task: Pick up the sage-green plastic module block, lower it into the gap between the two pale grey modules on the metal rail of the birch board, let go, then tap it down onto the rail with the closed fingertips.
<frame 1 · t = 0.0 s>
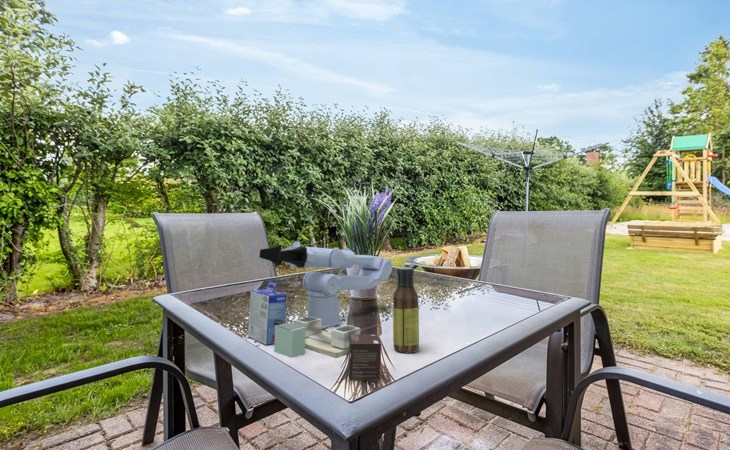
hand: (269, 254, 98), 22 cm above the table, tool horizontal, fingers open, 7 cm apart
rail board: (325, 344, 95), on the table
ink cartridge box: (266, 340, 97), on the table
module block: (289, 352, 88), on the table
box: (363, 375, 76), on the table
sauce bottle: (405, 350, 92), on the table
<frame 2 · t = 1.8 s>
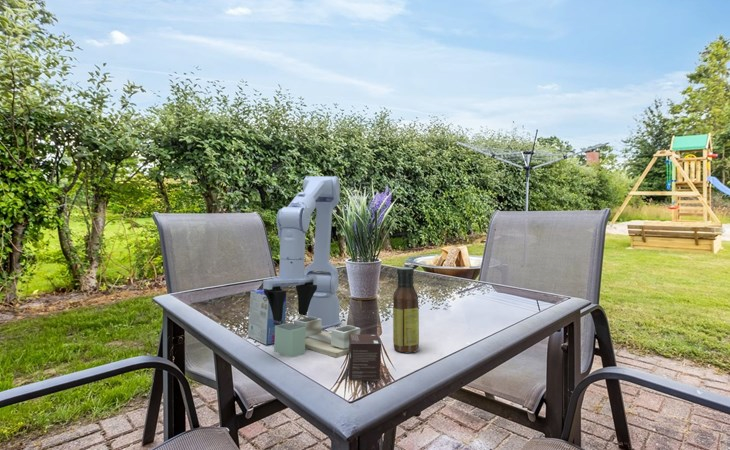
hand: (290, 317, 88), 8 cm above the table, tool pointing down, fingers open, 7 cm apart
nothing on the table moved.
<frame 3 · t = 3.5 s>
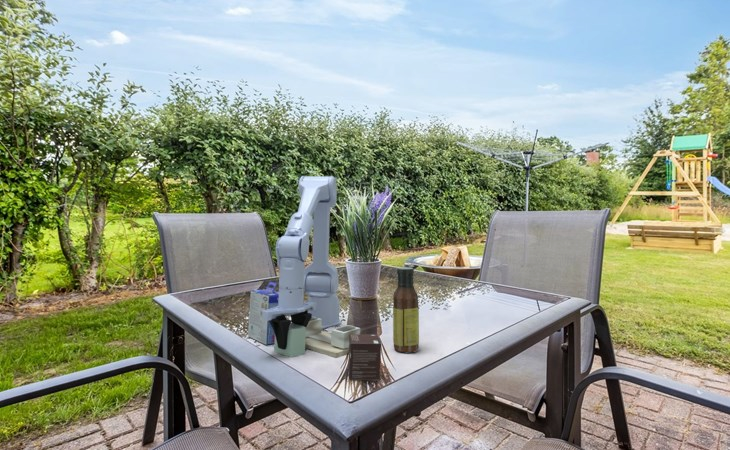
hand: (289, 346, 88), 1 cm above the table, tool pointing down, fingers closed on module block, 4 cm apart
module block: (289, 352, 88), on the table, touching gripper
everything else where it was.
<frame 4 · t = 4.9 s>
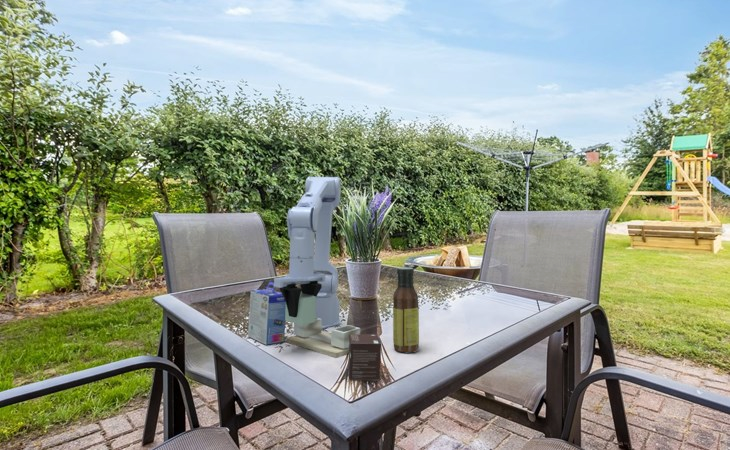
hand: (300, 314, 90), 8 cm above the table, tool pointing down, fingers closed on module block, 4 cm apart
module block: (300, 321, 90), point 7 cm above the table, touching gripper
everything else where it was.
when the fingers open (4 cm above the table, at t = 6.6 s): module block stays where it is, resting on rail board.
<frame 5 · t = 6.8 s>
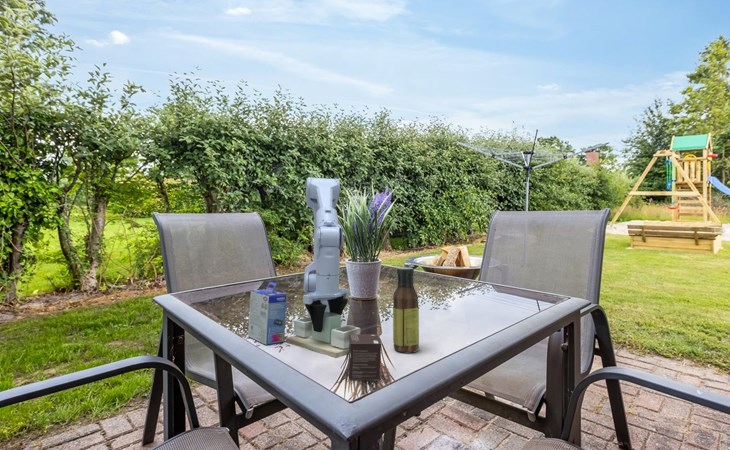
hand: (326, 328, 95), 4 cm above the table, tool pointing down, fingers open, 5 cm apart
module block: (326, 338, 95), point 1 cm above the table, touching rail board
everything else where it was.
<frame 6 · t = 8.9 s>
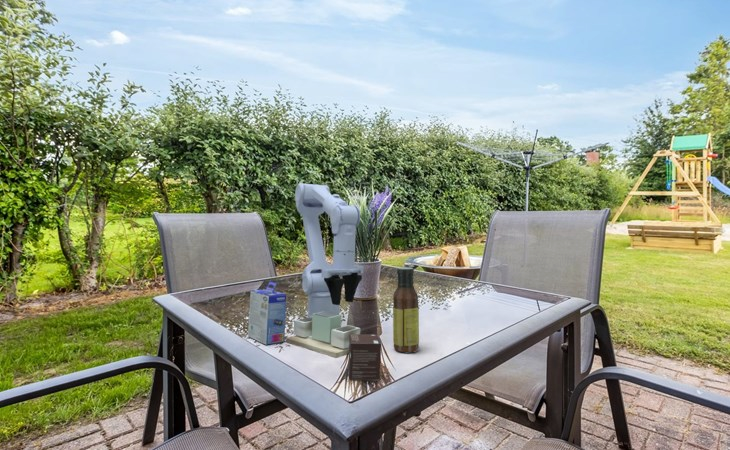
hand: (342, 303, 99), 9 cm above the table, tool pointing down, fingers open, 5 cm apart
nothing on the table moved.
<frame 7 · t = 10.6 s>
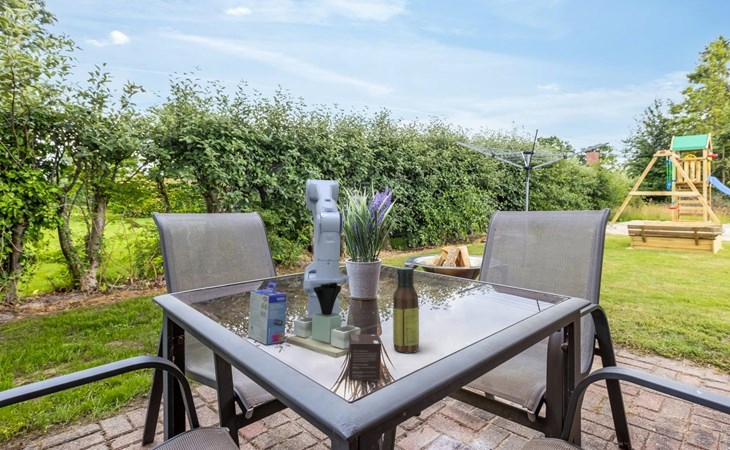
hand: (326, 314, 95), 7 cm above the table, tool pointing down, fingers closed, pressing on module block
module block: (326, 338, 95), point 1 cm above the table, touching gripper, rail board
everything else where it was.
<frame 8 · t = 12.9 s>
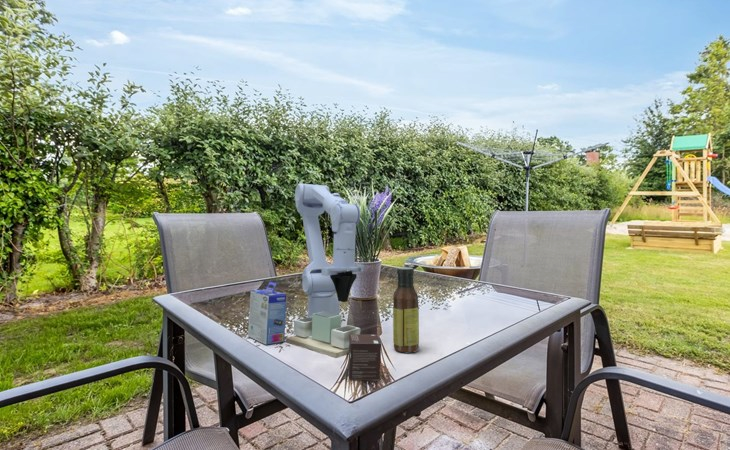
hand: (342, 301, 99), 10 cm above the table, tool pointing down, fingers closed
module block: (326, 338, 95), point 1 cm above the table, touching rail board
everything else where it was.
at the end: module block 0.1 cm off-centre on the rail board, point 1.4 cm above the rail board's base; module block tilted 0°; the gripper is holding nothing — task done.
